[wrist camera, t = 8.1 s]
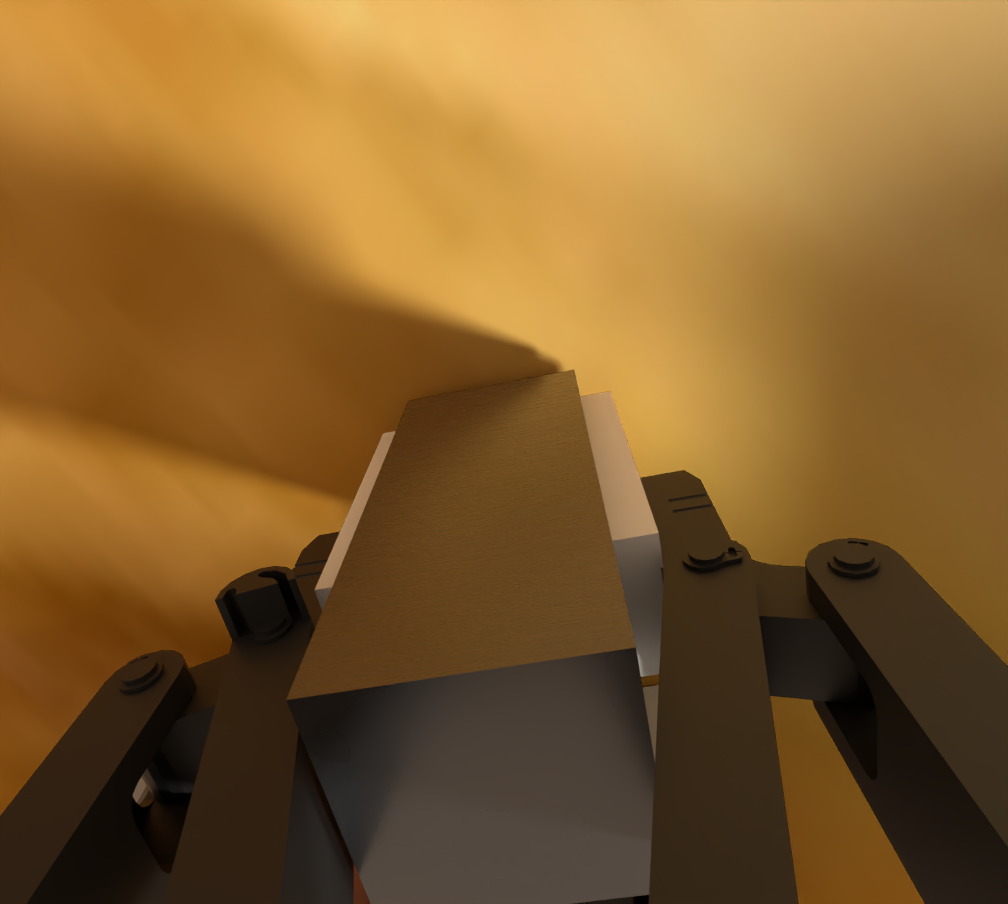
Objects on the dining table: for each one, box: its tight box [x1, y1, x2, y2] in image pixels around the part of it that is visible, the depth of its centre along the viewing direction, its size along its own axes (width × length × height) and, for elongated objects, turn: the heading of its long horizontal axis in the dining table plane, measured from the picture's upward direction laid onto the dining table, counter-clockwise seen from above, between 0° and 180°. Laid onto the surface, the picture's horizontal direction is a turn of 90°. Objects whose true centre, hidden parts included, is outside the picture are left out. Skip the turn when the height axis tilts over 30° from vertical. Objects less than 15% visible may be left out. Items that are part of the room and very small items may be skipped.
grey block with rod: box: [286, 370, 655, 904], centre depth 16 cm, size 8×17×10 cm, turn 12°
